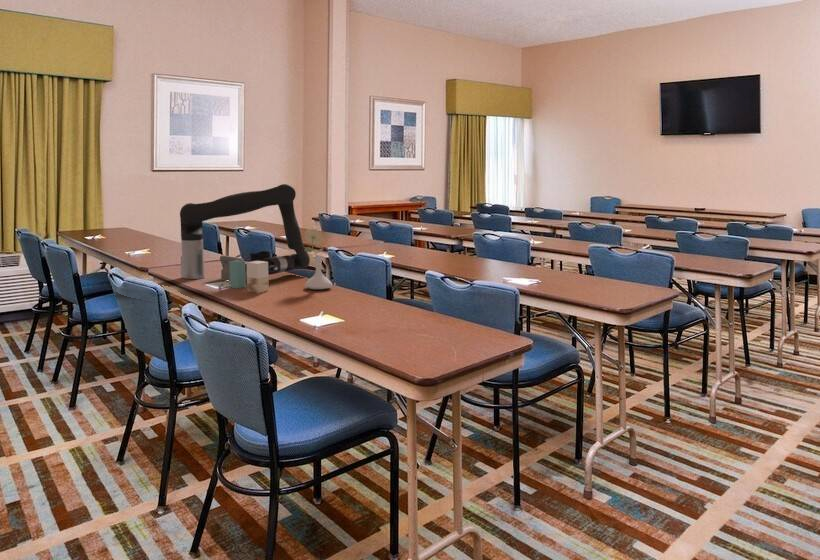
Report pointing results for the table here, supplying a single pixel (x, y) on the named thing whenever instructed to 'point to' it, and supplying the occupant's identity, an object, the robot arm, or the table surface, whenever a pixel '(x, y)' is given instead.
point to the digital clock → (226, 269)
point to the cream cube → (257, 269)
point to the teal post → (237, 274)
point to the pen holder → (259, 256)
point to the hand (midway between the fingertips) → (249, 269)
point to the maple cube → (257, 284)
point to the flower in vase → (316, 262)
